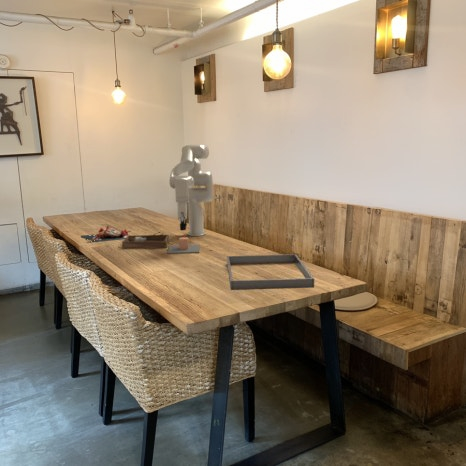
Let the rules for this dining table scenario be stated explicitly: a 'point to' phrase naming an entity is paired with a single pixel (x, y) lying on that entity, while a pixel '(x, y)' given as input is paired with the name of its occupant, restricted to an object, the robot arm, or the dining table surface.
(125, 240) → the walnut tray
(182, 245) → the terracotta block
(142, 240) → the reed diffuser
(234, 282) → the charcoal rectangular open frame
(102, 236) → the platter
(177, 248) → the slate mat
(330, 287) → the dining table surface
